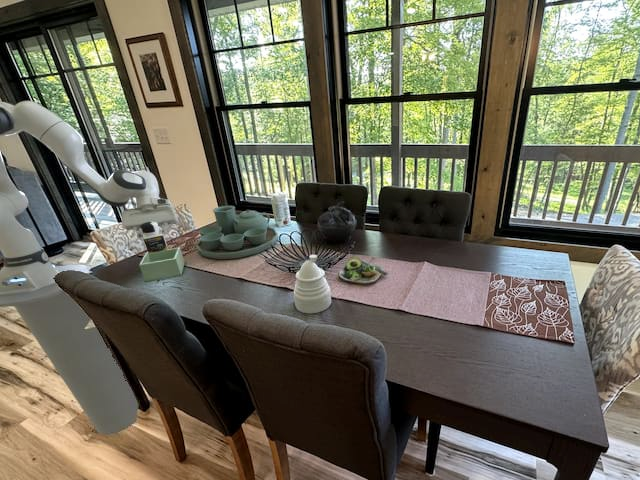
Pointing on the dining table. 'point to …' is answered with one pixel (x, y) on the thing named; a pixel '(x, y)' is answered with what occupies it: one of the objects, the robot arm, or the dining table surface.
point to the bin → (162, 264)
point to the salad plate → (361, 272)
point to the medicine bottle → (153, 238)
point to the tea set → (236, 234)
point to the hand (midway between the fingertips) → (152, 235)
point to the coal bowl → (337, 223)
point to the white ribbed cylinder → (280, 209)
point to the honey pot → (311, 288)
